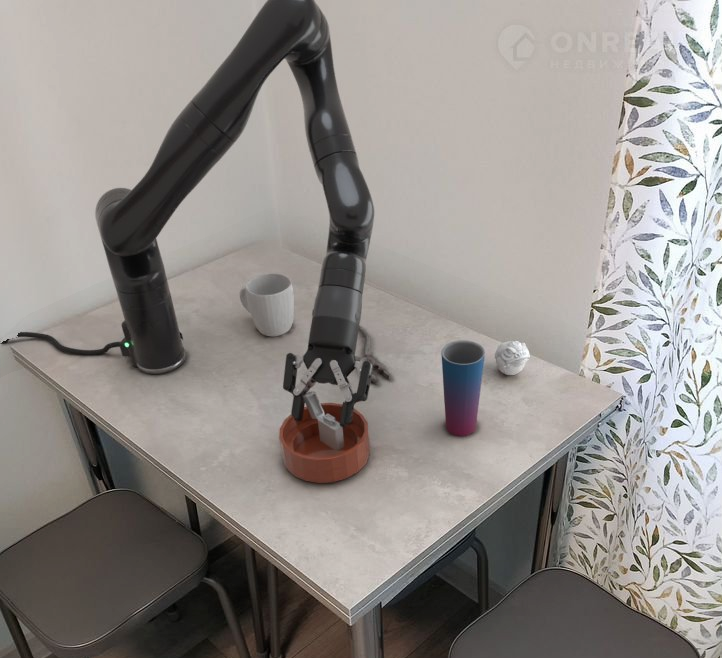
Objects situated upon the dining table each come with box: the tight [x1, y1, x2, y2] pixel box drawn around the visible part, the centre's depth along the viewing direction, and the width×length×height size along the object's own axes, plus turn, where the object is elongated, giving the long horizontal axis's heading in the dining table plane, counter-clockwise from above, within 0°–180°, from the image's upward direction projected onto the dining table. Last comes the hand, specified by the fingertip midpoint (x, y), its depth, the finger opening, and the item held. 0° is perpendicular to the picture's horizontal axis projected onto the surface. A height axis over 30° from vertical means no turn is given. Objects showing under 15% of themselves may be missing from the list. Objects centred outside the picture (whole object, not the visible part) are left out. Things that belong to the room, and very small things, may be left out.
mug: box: [239, 272, 295, 337], centre depth 161 cm, size 13×9×10 cm
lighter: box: [303, 391, 344, 451], centre depth 128 cm, size 7×2×8 cm, turn 45°
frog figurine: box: [494, 340, 531, 376], centre depth 145 cm, size 6×7×7 cm
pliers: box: [355, 325, 391, 385], centre depth 154 cm, size 10×1×20 cm
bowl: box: [278, 402, 371, 484], centre depth 131 cm, size 14×14×6 cm
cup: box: [440, 339, 486, 437], centre depth 132 cm, size 7×7×15 cm
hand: (320, 423), depth 127 cm, fingers closed on lighter, 7 cm apart
